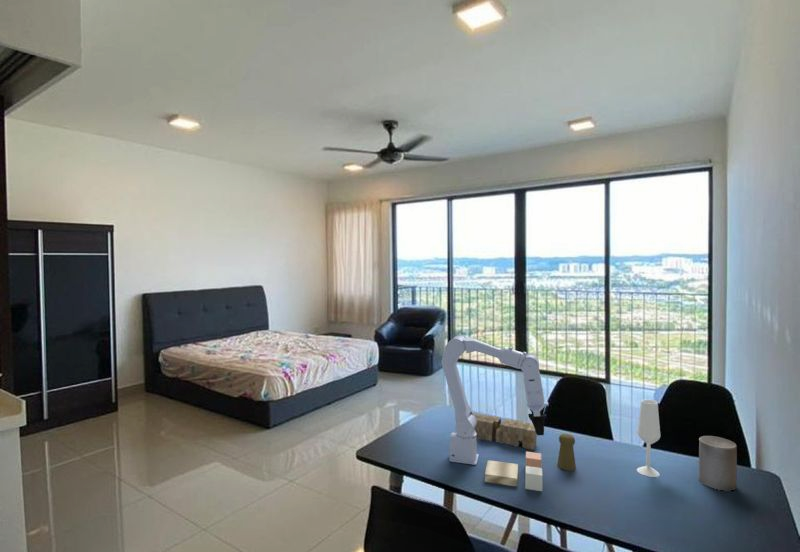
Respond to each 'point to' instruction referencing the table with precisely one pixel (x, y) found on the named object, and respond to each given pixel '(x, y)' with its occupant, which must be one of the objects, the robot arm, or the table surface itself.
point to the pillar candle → (718, 463)
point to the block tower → (506, 431)
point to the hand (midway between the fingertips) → (540, 430)
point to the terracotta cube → (533, 459)
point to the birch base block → (501, 473)
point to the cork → (566, 452)
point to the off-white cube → (533, 478)
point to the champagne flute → (648, 432)
